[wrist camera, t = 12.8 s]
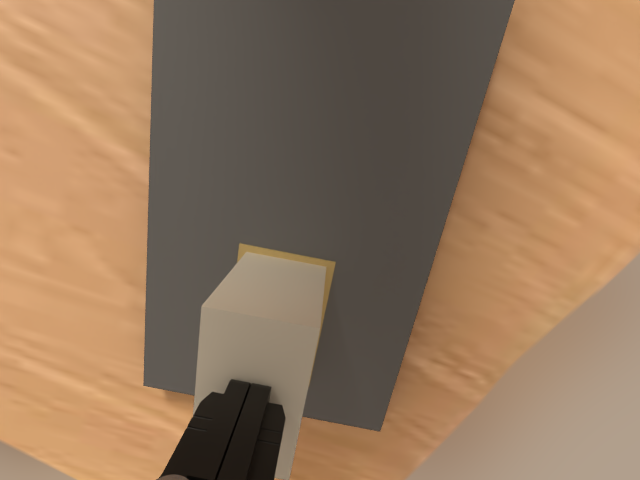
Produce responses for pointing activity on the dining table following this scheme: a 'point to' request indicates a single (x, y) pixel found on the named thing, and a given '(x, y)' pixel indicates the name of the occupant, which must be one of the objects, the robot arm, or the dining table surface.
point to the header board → (310, 169)
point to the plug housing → (263, 336)
